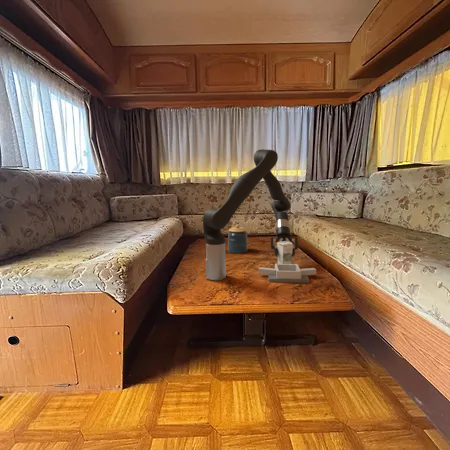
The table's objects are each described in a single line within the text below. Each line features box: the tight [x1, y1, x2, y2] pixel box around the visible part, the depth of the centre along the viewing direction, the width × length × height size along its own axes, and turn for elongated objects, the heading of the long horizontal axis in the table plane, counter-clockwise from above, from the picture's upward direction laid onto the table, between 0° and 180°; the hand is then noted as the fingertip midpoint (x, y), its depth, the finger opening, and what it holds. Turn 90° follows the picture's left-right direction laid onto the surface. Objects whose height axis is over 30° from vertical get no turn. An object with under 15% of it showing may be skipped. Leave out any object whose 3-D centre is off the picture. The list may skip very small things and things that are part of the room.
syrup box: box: [276, 241, 294, 264], centre depth 144 cm, size 6×6×14 cm
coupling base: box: [258, 263, 317, 284], centre depth 133 cm, size 27×12×5 cm, turn 85°
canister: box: [227, 223, 249, 254], centre depth 181 cm, size 13×13×18 cm
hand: (285, 256), depth 143 cm, fingers closed on syrup box, 7 cm apart
